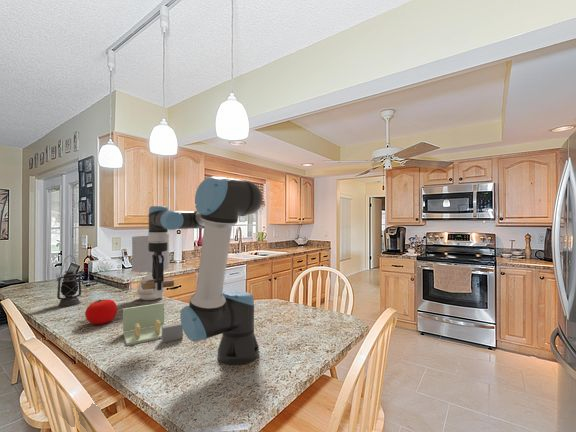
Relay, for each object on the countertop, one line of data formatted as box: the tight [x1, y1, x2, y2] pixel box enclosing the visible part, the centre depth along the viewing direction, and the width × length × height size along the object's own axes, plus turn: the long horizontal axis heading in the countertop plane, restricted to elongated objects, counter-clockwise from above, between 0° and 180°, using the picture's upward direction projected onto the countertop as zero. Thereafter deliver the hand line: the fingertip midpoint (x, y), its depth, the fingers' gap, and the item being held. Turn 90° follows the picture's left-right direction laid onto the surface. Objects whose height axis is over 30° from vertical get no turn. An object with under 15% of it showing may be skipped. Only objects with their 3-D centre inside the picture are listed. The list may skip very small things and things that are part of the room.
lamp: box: [131, 235, 170, 301], centre depth 189 cm, size 22×22×40 cm
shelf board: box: [140, 277, 175, 290], centre depth 126 cm, size 6×12×2 cm, turn 123°
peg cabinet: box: [122, 302, 166, 346], centre depth 129 cm, size 16×17×11 cm
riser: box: [161, 322, 184, 344], centre depth 123 cm, size 2×8×6 cm, turn 124°
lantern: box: [56, 254, 82, 308], centre depth 178 cm, size 12×11×30 cm
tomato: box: [84, 299, 118, 325], centre depth 144 cm, size 12×14×12 cm
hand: (157, 295), depth 126 cm, fingers closed on shelf board, 6 cm apart
